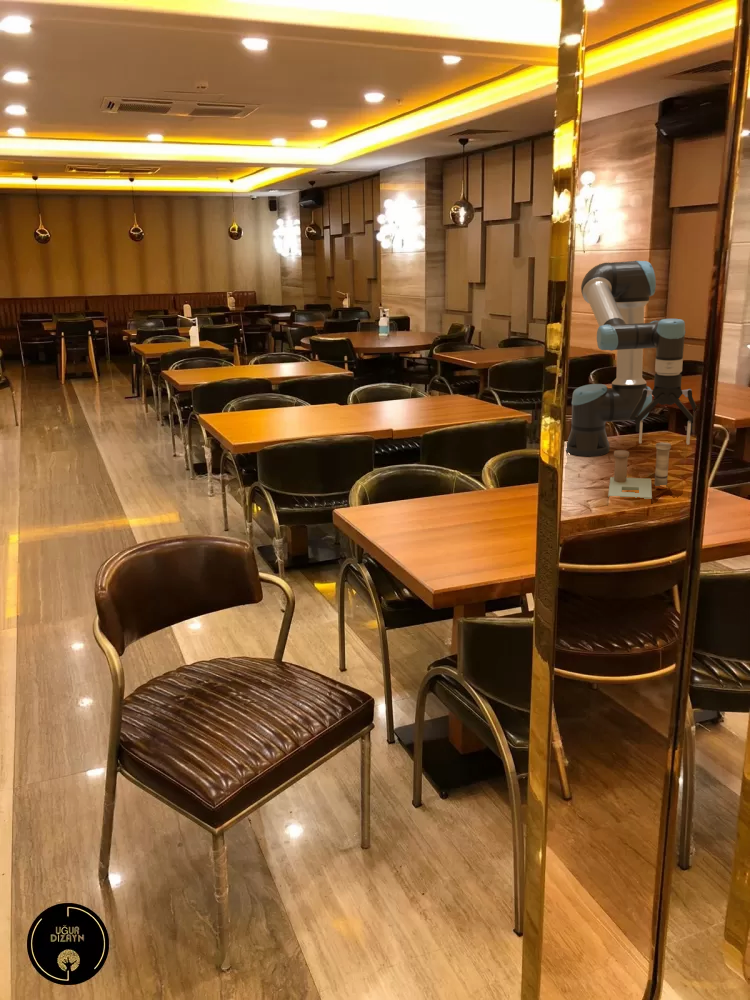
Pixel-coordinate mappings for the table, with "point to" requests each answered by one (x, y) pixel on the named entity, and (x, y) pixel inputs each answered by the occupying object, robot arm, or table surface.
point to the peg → (662, 463)
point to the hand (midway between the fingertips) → (663, 442)
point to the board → (627, 480)
